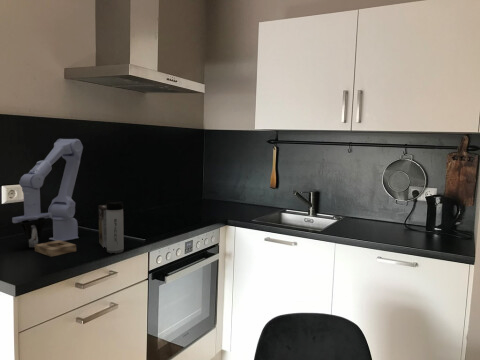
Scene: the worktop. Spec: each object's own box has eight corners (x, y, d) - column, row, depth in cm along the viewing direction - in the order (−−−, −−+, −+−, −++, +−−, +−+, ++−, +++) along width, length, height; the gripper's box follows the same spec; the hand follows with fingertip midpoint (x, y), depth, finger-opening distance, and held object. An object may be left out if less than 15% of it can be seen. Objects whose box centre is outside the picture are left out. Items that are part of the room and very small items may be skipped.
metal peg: (35, 244, 160) (35, 225, 159) (39, 245, 158) (39, 226, 158) (27, 246, 158) (26, 226, 157) (31, 247, 156) (30, 227, 155)
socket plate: (59, 246, 162) (59, 240, 161) (76, 251, 154) (76, 244, 154) (34, 251, 153) (34, 244, 153) (51, 256, 146) (51, 250, 146)
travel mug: (112, 248, 159) (111, 199, 157) (126, 250, 157) (126, 200, 155) (102, 252, 153) (101, 201, 151) (117, 254, 151) (116, 202, 149)
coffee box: (98, 242, 168) (97, 205, 166) (114, 241, 171) (113, 204, 169) (102, 248, 160) (102, 208, 158) (119, 246, 163) (118, 207, 161)
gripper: (17, 207, 148) (19, 243, 150) (55, 203, 160) (56, 236, 161) (9, 205, 152) (10, 240, 154) (46, 201, 164) (47, 233, 165)
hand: (33, 238), depth 158 cm, fingers closed on metal peg, 3 cm apart
